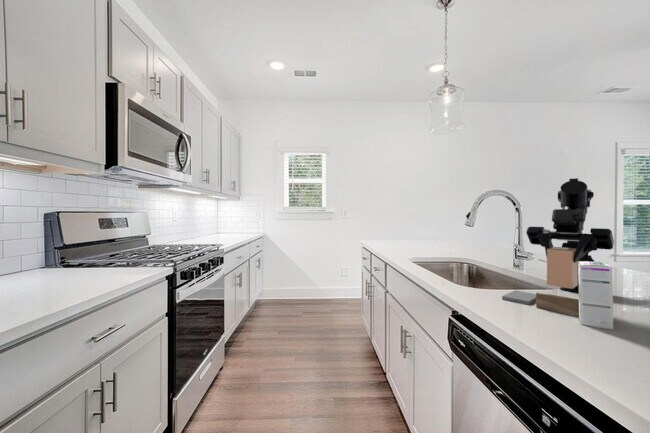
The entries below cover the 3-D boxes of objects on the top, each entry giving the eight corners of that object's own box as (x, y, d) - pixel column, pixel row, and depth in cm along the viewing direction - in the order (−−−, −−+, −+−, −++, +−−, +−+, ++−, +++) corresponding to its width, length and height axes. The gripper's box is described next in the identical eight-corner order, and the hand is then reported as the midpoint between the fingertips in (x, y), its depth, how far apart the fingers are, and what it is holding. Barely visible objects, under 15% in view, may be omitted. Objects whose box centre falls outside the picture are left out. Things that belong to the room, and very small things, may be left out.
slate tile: (515, 293, 96) (515, 290, 96) (540, 298, 91) (540, 294, 91) (502, 299, 90) (502, 296, 90) (528, 304, 85) (528, 301, 85)
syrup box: (614, 330, 66) (614, 266, 66) (579, 324, 70) (579, 263, 70) (609, 322, 71) (610, 262, 71) (577, 317, 74) (577, 260, 74)
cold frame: (547, 300, 88) (547, 287, 88) (590, 308, 81) (590, 294, 81) (536, 307, 82) (536, 293, 82) (581, 316, 75) (581, 301, 75)
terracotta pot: (553, 281, 85) (553, 246, 85) (577, 285, 81) (577, 248, 81) (547, 284, 82) (546, 248, 82) (572, 288, 78) (572, 250, 78)
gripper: (528, 200, 91) (514, 238, 84) (611, 197, 76) (602, 243, 70) (537, 224, 96) (524, 262, 89) (617, 226, 81) (609, 272, 75)
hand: (560, 260), depth 81 cm, fingers closed on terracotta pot, 5 cm apart
